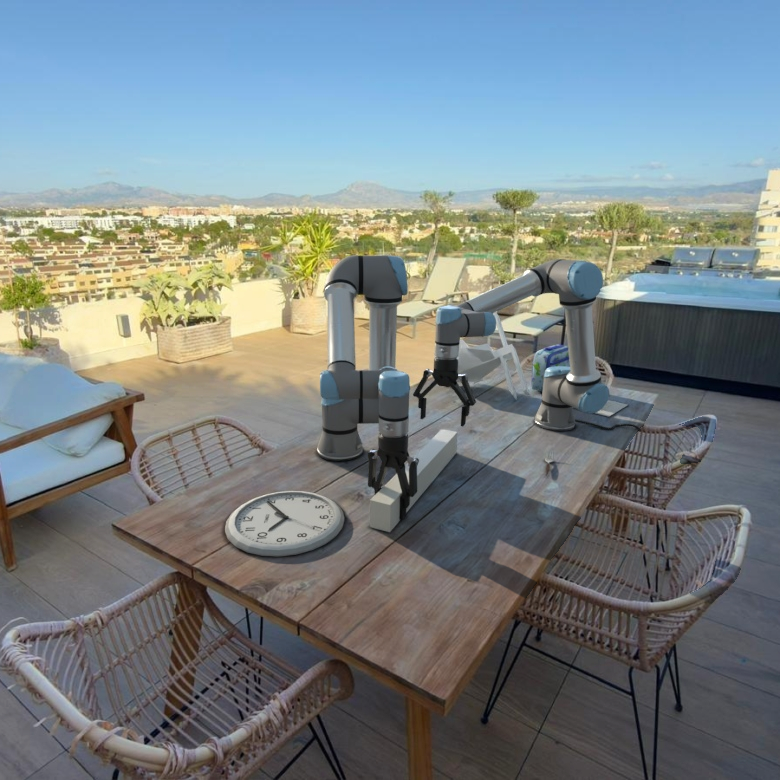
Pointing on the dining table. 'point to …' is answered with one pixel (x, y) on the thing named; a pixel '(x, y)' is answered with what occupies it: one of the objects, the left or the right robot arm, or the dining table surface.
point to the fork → (548, 462)
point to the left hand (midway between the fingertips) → (391, 514)
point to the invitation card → (611, 408)
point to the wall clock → (284, 523)
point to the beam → (428, 468)
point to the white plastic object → (489, 361)
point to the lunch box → (548, 363)
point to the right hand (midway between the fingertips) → (442, 421)
